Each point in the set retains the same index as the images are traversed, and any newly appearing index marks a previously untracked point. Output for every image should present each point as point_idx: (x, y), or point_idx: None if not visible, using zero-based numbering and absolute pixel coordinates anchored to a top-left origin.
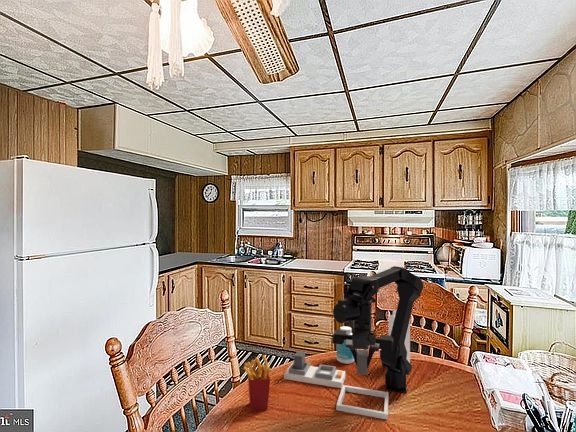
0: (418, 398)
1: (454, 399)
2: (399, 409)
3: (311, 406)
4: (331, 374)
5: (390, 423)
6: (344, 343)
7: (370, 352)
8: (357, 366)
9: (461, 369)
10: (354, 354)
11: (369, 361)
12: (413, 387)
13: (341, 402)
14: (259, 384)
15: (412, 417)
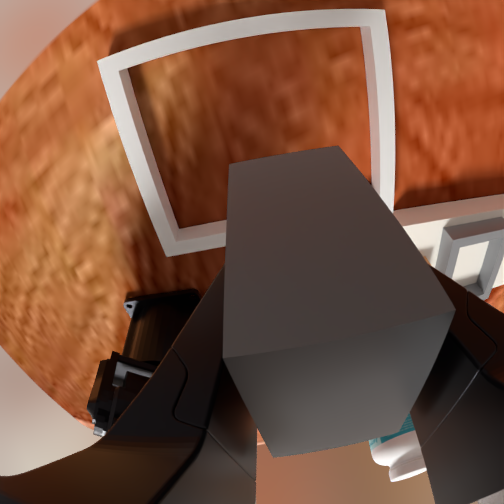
0: (78, 285)
1: (16, 319)
2: (92, 173)
3: (474, 15)
4: (455, 249)
5: (88, 41)
6: (408, 423)
7: (153, 451)
8: (361, 183)
9: (89, 421)
10: (472, 318)
11: (206, 310)
12: (124, 337)
13: (369, 71)
14: None
15: (35, 149)
